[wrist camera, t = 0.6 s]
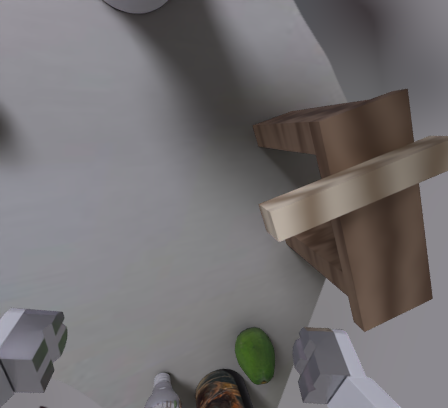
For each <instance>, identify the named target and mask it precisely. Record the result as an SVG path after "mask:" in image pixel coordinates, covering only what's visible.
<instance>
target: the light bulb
mask: <svg viewBox="0 0 448 408" xmlns="http://www.w3.org/2000/svg"><path fill="white" fill-rule="evenodd" d="M144 408H182V403H181V400H180V398H179V396H178V395H177V393H176V392H175V391H173V388H172V386H171V380H170V375H169V374H167V373H160V374H158V375H157V376H156V377H155V379H154V388H153V391H152V394H151V396H150V397H149V398H148V400H147V402H146V404H145V407H144Z"/></svg>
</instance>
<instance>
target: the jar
mask: <svg viewBox="0 0 448 408" xmlns="http://www.w3.org/2000/svg"><path fill="white" fill-rule="evenodd" d="M195 399H196V406H197V408H253V405H252V402H251V399H250V397H249V394H248V391H247V388H246V385H245V383H244V380H243V378H242V377H241V376H240V375H239V374H238V373H237V372H235V371H233V370H229V369H220V370H216V371H213V372H211V373H209V374H208V375H206V376H205V377H204V378H203V379H202V380H201V381H200V383H199V384H198V386H197V388H196V393H195Z"/></svg>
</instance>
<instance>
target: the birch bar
mask: <svg viewBox="0 0 448 408" xmlns="http://www.w3.org/2000/svg"><path fill="white" fill-rule="evenodd" d="M446 171H448V136H428V137H426V138H423V139H421V140H418V141H416V142H413V143H411V144H408V145H406V146H403V147H401V148H398V149H396V150H393V151H391V152H388V153H386V154H383V155H381V156H378V157H376V158H373V159H371V160H368V161H366V162H363V163H361V164H358V165H356V166H353V167H351V168H348V169H346V170H343V171H341V172H338V173H336V174H333V175H331V176H328V177H326V178H323V179H321V180H318V181H316V182H313V183H311V184H308V185H306V186H303V187H301V188H298V189H296V190H293V191H291V192H288V193H286V194H283V195H281V196H278V197H276V198H273V199H271V200H268V201H266V202H263V203H261V204H259V207H260V211H261V214H262V217H263V220H264V224H265V227H266V230H267V232H268V233H269V234H270V235H272V236H273V237H274V238H275V239H276V240H277V241H278V242H280V241H283V240H285V239H287V238H290V237H292V236H295V235H297V234H299V233H302V232H304V231H306V230H309V229H311V228H313V227H316V226H318V225H321V224H323V223H325V222H328V221H330V220H332V219H335V218H337V217H339V216H342V215H344V214H347V213H349V212H351V211H354V210H356V209H358V208H361V207H363V206H366V205H368V204H370V203H373V202H375V201H377V200H380V199H382V198H384V197H387V196H389V195H392V194H394V193H396V192H399V191H401V190H403V189H406V188H408V187H410V186H413V185H415V184H418V183H420V182H422V181H425V180H427V179H429V178H431V177H434V176H437V175H439V174H441V173H443V172H446Z"/></svg>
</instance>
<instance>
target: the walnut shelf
mask: <svg viewBox="0 0 448 408" xmlns="http://www.w3.org/2000/svg"><path fill="white" fill-rule="evenodd" d="M253 129H254V132H255V136H256V139H257V143H258V146H259V147H265V148H272V149H279V150H286V151H293V152H300V153H306V154H313V155H316V157H317V162H318V166H319V171H320V175H321V179H323V178H326V177H328V176H331V175H333V174H336V173H338V172H341V171H343V170H346V169H348V168H351V167H353V166H356V165H358V164H361V163H363V162H366V161H368V160H371V159H373V158H376V157H378V156H381V155H383V154H386V153H388V152H391V151H393V150H396V149H398V148H401V147H403V146H406V145H408V144H411V143H413V142H414V138H413V131H412V122H411V113H410V105H409V96H408V89H403V90H397V91H392V92H389V93H386V94H384V95H381V96H378V97H375V98H373V99H370V100H364V101H357V102H350V103H344V104H337V105H330V106H324V107H317V108H310V109H304V110H297V111H291V112H288V113H286V114H283V115H280V116H277V117H275V118H272V119H269V120H266V121H263V122H261V123H258V124H255V125H253ZM285 240H286V244H287V245H288V246H290V247H291V248H292V249H293V250H294V251H295V252H297V253H298V254H299V255H300V256H301V257H303V258H304V259H305V260H306V261H307V262H308V263H310V264H311V265H312V266H313V267H314V268H315V269H317V270H318V271H319V272H320V273H321V274H322V275H324V276H325V277H326V278H327V279H328V280H329V281H331V282H332V283H333V284H334V285H335V286H336V287H338V288H339V289H340V290H341V291H342V292H343V293H345V294H346V295H347V296H348V298H349V302H350V307H351V311H352V316H353V320H354V322H355V323H356V324H357V325H358V326H359V327H360V328H361V329H362V330H363V331H364V332H366V331H367V330H370V329H372V328H373V327H376V326H378V325H380V324H382V323H384V322H386V321H388V320H390V319H392V318H394V317H396V316H398V315H400V314H402V313H404V312H406V311H408V310H411V309H413V308H415V307H417V306H419V305H421V304H423V303H425V302H427V301H429V300H431V299H432V289H431V281H430V272H429V264H428V256H427V248H426V239H425V230H424V222H423V214H422V205H421V197H420V188H419V183H418V184H415V185H413V186H410V187H408V188H406V189H403V190H401V191H399V192H396V193H394V194H392V195H389V196H387V197H384V198H382V199H380V200H377V201H375V202H373V203H370V204H368V205H366V206H363V207H361V208H358V209H356V210H354V211H351V212H349V213H347V214H344V215H342V216H339V217H337V218H335V219H332V220H330V221H328V222H325V223H323V224H321V225H318V226H316V227H313V228H311V229H309V230H306V231H304V232H302V233H299V234H297V235H295V236H292V237H290V238H287V239H285Z"/></svg>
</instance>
